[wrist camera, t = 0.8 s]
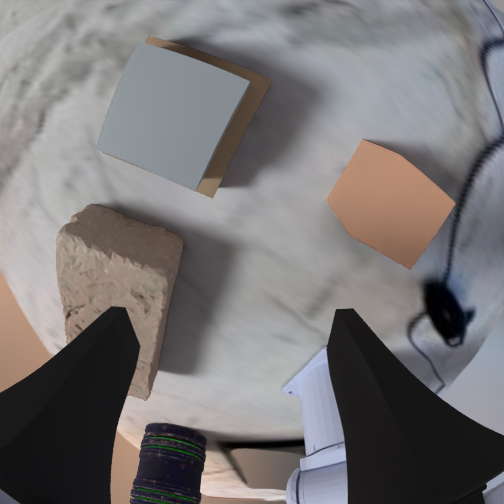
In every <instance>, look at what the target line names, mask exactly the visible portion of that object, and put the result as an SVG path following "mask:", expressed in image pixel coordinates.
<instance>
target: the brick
mask: <svg viewBox="0 0 504 504" xmlns="http://www.w3.org/2000/svg"><path fill="white" fill-rule="evenodd" d="M56 243H57V247H56V270H57V281H58V287H59V291H60V294H61V301H62V304H63V306H64V308H63V313H64V317H65V332H66V333H65V335H66V336H67V339H66V342H67V345H68V344H69V343H70V342H71V341H72V340H73V339H75V338H76V337H77V336H78V335H79V334H80V333H81V332H82V331H83V330H84V329H86V328H87V327H88V326H89V325H90V324H91V323H92V322H93V321H94V320H96V319H97V318H98V317H99V316H100V315H101V314H102V313H104V312H105V311H106V310H107V309H108V308H110V307H111V306H117V307H126V309H127V312H128V315H129V318H130V320H131V323H132V326H133V328H134V331H135V333H136V336H137V338H138V341H139V343H140V346H141V347H140V352H139V357H138V362H137V366H136V370H135V373H134V376H133V379H132V382H131V385H130V388H129V391H128V394H127V396H129V395H131V396H134V397H137V398H140V399H143V400H144V401H146V400H147V399H148V397H150V394H151V390H152V387H153V383H154V380H155V377H156V375H157V371H158V367H159V359H160V352H161V349H162V347H163V346H162V343H163V339H164V334H165V327H166V321H167V316H168V310H169V305H170V301H171V297H172V292H173V288H174V285H175V281H176V278H177V275H178V272H179V266H180V260H181V255H182V250H183V241H182V239H181V238H180V237H179V236H177V235H176V234H174V233H172V232H168V231H166V230H165V229H164V228H162V227H159V226H158V227H157V226H153V225H152V226H150V225H148V224H142V223H140V222H137V221H135V220H133V219H129V218H126V217H125V216H124V215H121V214H118V213H116V212H114V211H113V210H111V209H109V208H106V207H101V206H98V205H87V206H86V207H85V208H84V209H83V210H82V212H79V213H77V214H75V215H73V216H72V217H71V220H70V223H68V224H65V225H64V226H63V227H62V229H61V230H60V231H59V232H58V235H57V238H56Z"/></svg>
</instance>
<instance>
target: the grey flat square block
mask: <svg viewBox="0 0 504 504" xmlns="http://www.w3.org/2000/svg"><path fill="white" fill-rule="evenodd" d="M250 86H251V83H250V81H248V80H246V79H244V78H241V77H239V76H237V75H234V74H232V73H230V72H227V71H225V70H223V69H220V68H218V67H215V66H213V65H210V64H207V63H205V62H202V61H199V60H197V59H194V58H191V57H188V56H185V55H182V54H179V53H176V52H173V51H170V50H167V49H163V48H160V47H157V46H153V45H149V44H146V43H142V42H137V44H136V46H135V48H134V50H133V52H132V54H131V56H130V58H129V61H128V63H127V65H126V67H125V69H124V72H123V74H122V76H121V79H120V81H119V83H118V86H117V88H116V91H115V93H114V96H113V98H112V101H111V104H110V106H109V109H108V112H107V115H106V118H105V120H104V123H103V126H102V130H101V133H100V136H99V139H98V142H97V146H96V149H98V150H100V151H102V152H105V153H107V154H110V155H112V156H115V157H117V158H119V159H122V160H124V161H127V162H129V163H131V164H134V165H136V166H138V167H141V168H143V169H145V170H148V171H150V172H152V173H155V174H157V175H159V176H161V177H164V178H166V179H168V180H171V181H173V182H175V183H177V184H180V185H182V186H184V187H186V188H189V189H191V190H193V191H196V189H197V188H198V186H199V185H200V183H201V182H202V180H203V178H204V176H205V174H206V172H207V170H208V168H209V166H210V163H211V161H212V159H213V157H214V155H215V153H216V151H217V149H218V147H219V145H220V143H221V141H222V139H223V137H224V135H225V133H226V131H227V129H228V127H229V125H230V123H231V121H232V119H233V117H234V115H235V114H236V112H237V110H238V108H239V106H240V104H241V102H242V100H243V99H244V97H245V95H246V93H247V91H248V89H249V88H250Z"/></svg>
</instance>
